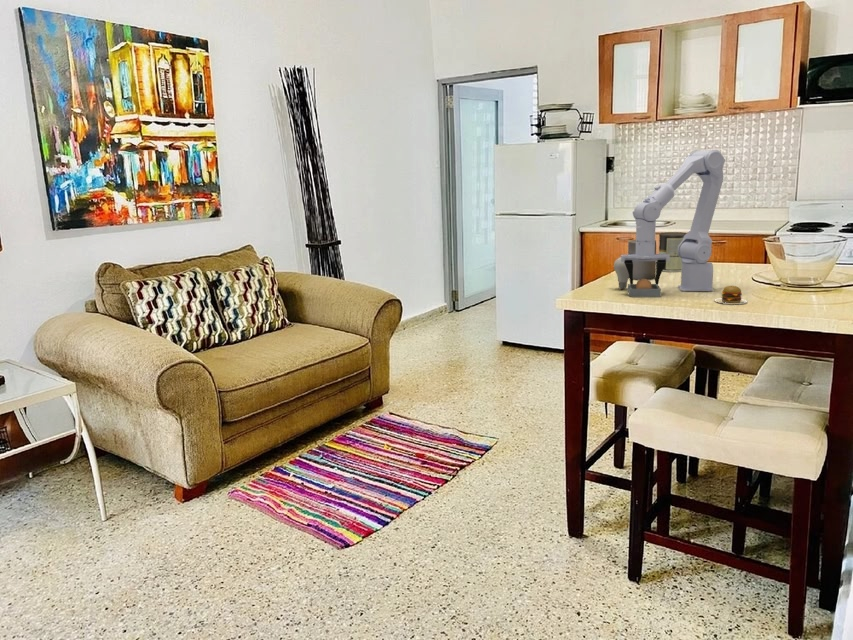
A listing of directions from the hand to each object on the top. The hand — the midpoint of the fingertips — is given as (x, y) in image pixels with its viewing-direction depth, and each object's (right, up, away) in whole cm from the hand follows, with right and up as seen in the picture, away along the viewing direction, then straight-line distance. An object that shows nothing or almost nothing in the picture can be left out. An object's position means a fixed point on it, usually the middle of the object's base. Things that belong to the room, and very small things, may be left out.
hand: (644, 283), depth 211 cm
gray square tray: (0, -3, +1) cm, 3 cm away
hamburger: (+20, -7, -16) cm, 27 cm away
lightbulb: (-4, -2, +10) cm, 11 cm away
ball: (0, -3, +1) cm, 3 cm away
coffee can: (+25, +7, +45) cm, 52 cm away
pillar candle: (+9, +4, +30) cm, 32 cm away
